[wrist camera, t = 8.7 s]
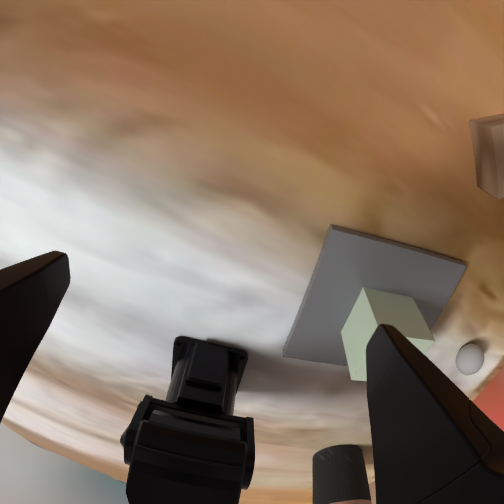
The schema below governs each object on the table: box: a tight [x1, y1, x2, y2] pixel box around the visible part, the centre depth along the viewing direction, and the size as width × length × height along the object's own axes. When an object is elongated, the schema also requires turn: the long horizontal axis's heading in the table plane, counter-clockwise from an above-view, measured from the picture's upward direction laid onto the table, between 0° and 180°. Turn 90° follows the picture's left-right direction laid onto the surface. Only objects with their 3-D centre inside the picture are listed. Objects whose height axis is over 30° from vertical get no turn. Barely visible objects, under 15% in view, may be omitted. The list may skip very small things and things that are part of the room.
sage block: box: [341, 287, 435, 381], centre depth 21 cm, size 4×4×5 cm
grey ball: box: [456, 344, 484, 375], centre depth 25 cm, size 3×3×3 cm
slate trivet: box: [283, 224, 467, 366], centre depth 24 cm, size 12×12×1 cm
